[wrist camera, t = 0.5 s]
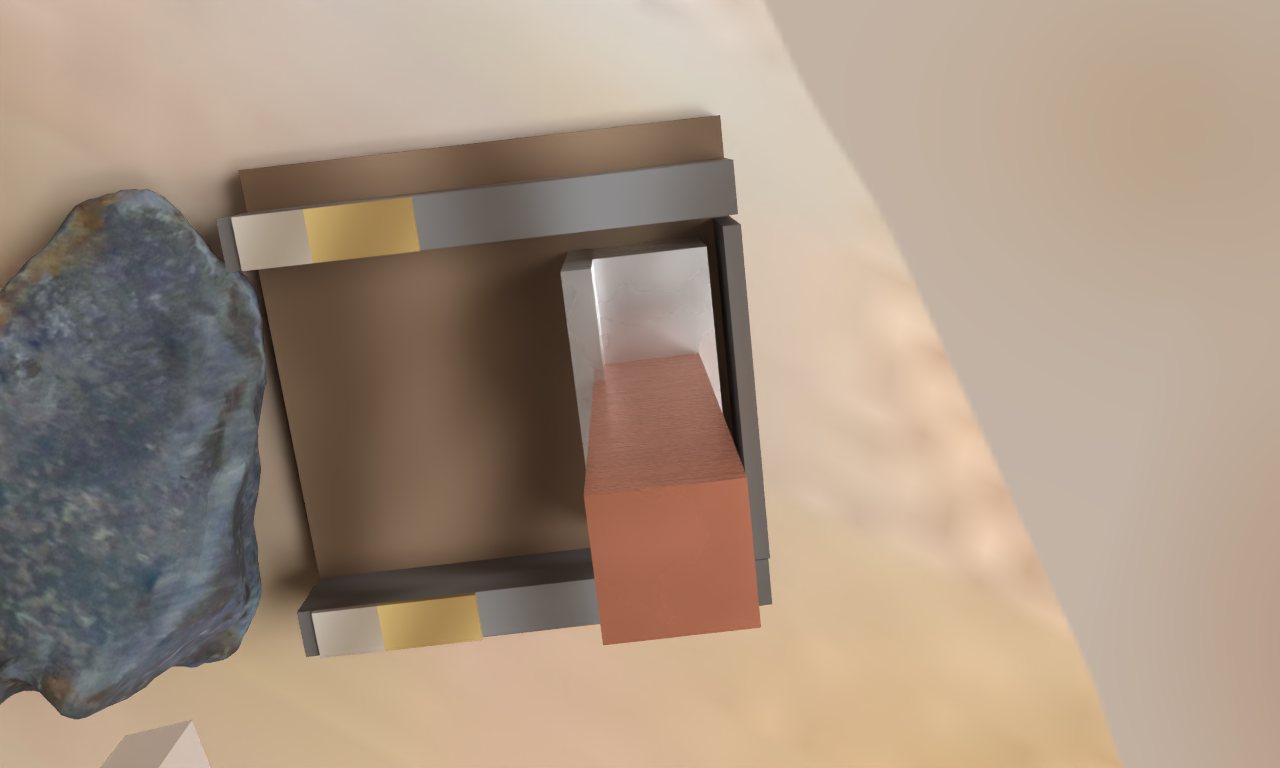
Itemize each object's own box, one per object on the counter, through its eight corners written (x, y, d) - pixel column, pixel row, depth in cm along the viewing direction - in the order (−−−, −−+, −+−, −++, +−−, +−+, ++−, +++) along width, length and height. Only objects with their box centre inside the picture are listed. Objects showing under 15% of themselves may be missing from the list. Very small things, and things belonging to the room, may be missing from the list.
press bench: (343, 636, 36) (308, 701, 32) (252, 169, 32) (199, 174, 28) (759, 590, 36) (778, 648, 32) (716, 115, 32) (730, 113, 28)
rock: (-7, 638, 36) (253, 743, 35) (-214, 664, 28) (117, 802, 27) (170, 228, 38) (422, 315, 37) (25, 141, 30) (343, 250, 29)
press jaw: (603, 524, 34) (596, 786, 20) (568, 250, 32) (534, 339, 18) (724, 510, 34) (799, 763, 20) (698, 235, 32) (760, 312, 18)
